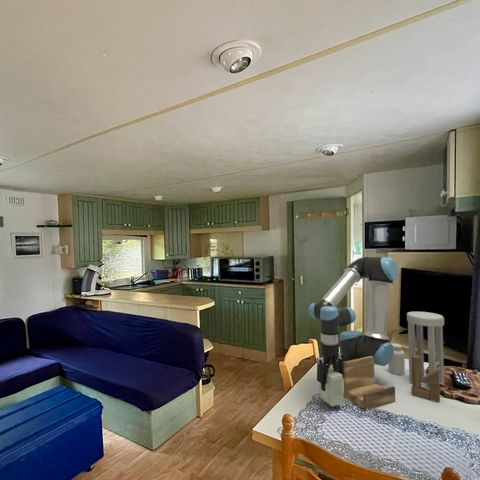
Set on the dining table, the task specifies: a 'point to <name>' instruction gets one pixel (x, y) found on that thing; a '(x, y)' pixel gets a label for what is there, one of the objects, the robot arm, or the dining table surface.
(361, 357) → the robot arm
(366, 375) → the wooden display stand
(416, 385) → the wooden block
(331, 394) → the sage green upright block
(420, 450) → the dining table surface
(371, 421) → the dining table surface
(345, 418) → the dining table surface
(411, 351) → the stool
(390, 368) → the pill bottle
